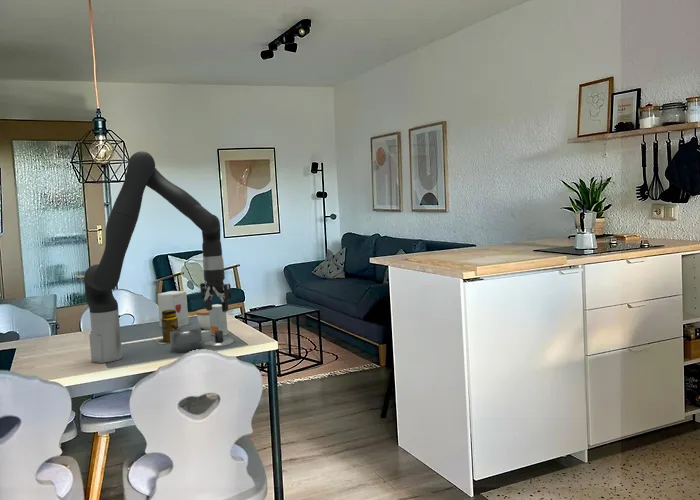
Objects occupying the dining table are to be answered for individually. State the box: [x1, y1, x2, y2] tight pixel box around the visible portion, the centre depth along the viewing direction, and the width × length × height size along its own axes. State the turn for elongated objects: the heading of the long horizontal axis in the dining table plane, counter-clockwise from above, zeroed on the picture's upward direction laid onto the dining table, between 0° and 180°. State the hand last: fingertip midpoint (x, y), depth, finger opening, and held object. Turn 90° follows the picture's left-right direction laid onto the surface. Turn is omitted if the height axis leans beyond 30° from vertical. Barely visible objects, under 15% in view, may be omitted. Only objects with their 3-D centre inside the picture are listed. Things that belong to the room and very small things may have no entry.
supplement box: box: [157, 290, 190, 329], centre depth 267 cm, size 9×9×15 cm
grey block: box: [170, 326, 203, 354], centre depth 222 cm, size 11×11×7 cm
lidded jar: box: [196, 308, 211, 331], centre depth 258 cm, size 11×11×9 cm
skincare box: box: [209, 303, 228, 337], centre depth 243 cm, size 6×4×12 cm
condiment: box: [155, 310, 179, 345], centre depth 237 cm, size 7×8×12 cm
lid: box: [204, 330, 235, 347], centre depth 229 cm, size 11×11×5 cm
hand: (217, 310), depth 229 cm, fingers open, 8 cm apart
